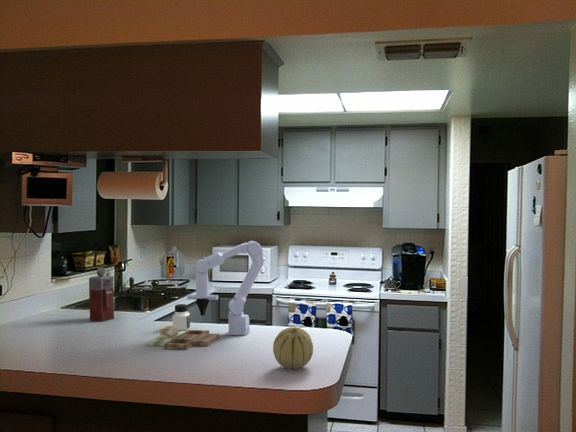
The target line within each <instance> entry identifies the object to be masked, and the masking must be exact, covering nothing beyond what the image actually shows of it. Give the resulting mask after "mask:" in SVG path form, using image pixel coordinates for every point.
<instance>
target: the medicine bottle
mask: <svg viewBox="0 0 576 432" xmlns="http://www.w3.org/2000/svg"><path fill="white" fill-rule="evenodd" d="M172 326H178V331H188V330H190V328H191V313H190V312H189V311H188V305H187V304H186V303H177V304H176V305H174V314H173V315H172Z"/></svg>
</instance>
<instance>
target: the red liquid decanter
mask: <svg viewBox="0 0 576 432" xmlns="http://www.w3.org/2000/svg"><path fill="white" fill-rule="evenodd" d="M105 274H106V269H105V268H104V267H99V268H97V269H96V276H92V277H89V278H88V291H89V295H88V296H89V298H88V300H89V321H90V322H99V323H100V322H101V323H102V322H106V321H111V320H113V319H114V320H115V303H114V302H115V300H114V299H115V298H114V297H115V296H114V295H115V294H114V277H113V276H112V275H105Z"/></svg>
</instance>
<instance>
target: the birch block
mask: <svg viewBox="0 0 576 432" xmlns="http://www.w3.org/2000/svg"><path fill="white" fill-rule="evenodd" d="M178 332H179V330H178V326H173V325H164V326H162V327H160V328H159V335H160V338H174V337H175V336H177V335H178Z"/></svg>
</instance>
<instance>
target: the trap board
mask: <svg viewBox="0 0 576 432" xmlns="http://www.w3.org/2000/svg"><path fill="white" fill-rule="evenodd" d="M219 339H220V333H210V329H209V330H208V329H207V330H204V329H203V330H202V329H188V330H185V331H178V335H177V336H175V337H174V338H160V334H159V335H158V336H155V337H154V338H152V339H150V340H148V346H151V347H164V349H165V350H188V349H190V348H192V347H209V346H211V345H212V344H213V343H215V342H217V341H218V340H219Z"/></svg>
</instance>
